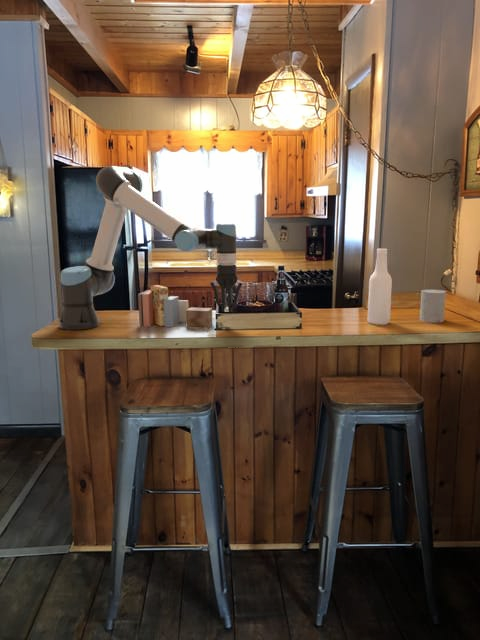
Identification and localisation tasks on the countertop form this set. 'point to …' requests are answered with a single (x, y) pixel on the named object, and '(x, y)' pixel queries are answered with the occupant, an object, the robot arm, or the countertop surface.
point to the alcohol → (380, 291)
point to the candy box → (159, 303)
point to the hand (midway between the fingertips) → (227, 323)
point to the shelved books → (169, 310)
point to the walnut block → (199, 317)
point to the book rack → (182, 309)
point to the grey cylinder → (432, 305)
